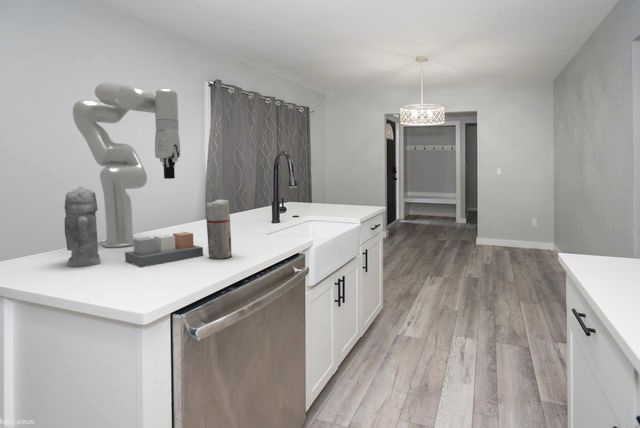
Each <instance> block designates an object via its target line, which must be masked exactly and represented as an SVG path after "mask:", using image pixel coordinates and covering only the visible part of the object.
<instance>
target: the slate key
mask: <svg viewBox="0 0 640 428" xmlns="http://www.w3.org/2000/svg"><path fill="white" fill-rule="evenodd" d="M133 241H134V245H133V251H134V254H136V255H140V256H142V255H148V254H154V253H156V243H155V239H154V237H150V236H147V237H146V236H145V237H138V238H137V237H136V238H133Z"/></svg>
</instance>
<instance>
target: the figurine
mask: <svg viewBox="0 0 640 428" xmlns="http://www.w3.org/2000/svg"><path fill="white" fill-rule="evenodd" d="M97 203H98V202H97V197H96V192H95V191H93V190H91V189H89V188H88V189H87V188H84V186H79V187H78V188H75V189H72V190H70V191H68V192H67V193H66V194H65V200H64V207H63V208H64V212H65V217H64V236H65V239H66V241H65V242H66V249H67V251H69V252H71V254H70V255H71V256H70V257H69V258H68V261H67V266H68V267H85V266H94V265H99V264H101V257H100V253H98V252H99V247H98V243H99V242H98V229H97V226H98V225H97V224H98V223H97V216H96V214H97V213H96V212H97V211H98V204H97Z"/></svg>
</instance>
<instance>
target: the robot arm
mask: <svg viewBox="0 0 640 428" xmlns="http://www.w3.org/2000/svg"><path fill="white" fill-rule="evenodd" d="M94 96H95V98H96V99H97V100H96V99H80V100H78V101H77V102H74V105H73V107H72V117H73V121H74V124H75V126H76V128H77V130H78V131H79V132H80V134H81V135H82V137H83V138H84V140H85V142H86V143H87V146H88V148H89V150H90V152H91V154H92V156H93V158H94V160H95V162H96V163H97V164H98V166H101V167H104V168H102V169H101V171H100V173H99V180H100V184H101V188H102V192H103V198H104V199H103V200H104V201H103V202H104V215H105V230H106V241H104V242H103V243H102V246H103V247H104V248H124V247H132V246H134V241H133V239H134V232H133V231H134V230H133V229H134V228H133V211H132V200H131V197H130V195H129V194H128V193H127V191H126V190H134V189H141V188H143V187H144V186H145V185H146V184H147V182H148V181H147V180H148V176H147V173H146V172H147V171H146V169H145V168H144V165H143V163H142V161H141V159H140V157H139V155H138V153H137V151H136V150H135V149H134V147H133V146H132V145H130V144H128V143H117V142H114V141H113V140H111V139H112V138H111V137H110V135H109V133H108V132H107V130H105V128H104V127H102V125H100V124H99V123H103V124H117V123H118V122H120V121H122V119H123V118H124V117H125V116H126V114H127V113H128V112H129V111H133V112H142V113H143V112H144V113H151V114H155V115H154V116H155V133H154V134H155V136H154V156H155V158H156V159H159V162H161V164H162V168H163V178H164V179H166V180H169V179H175V175H176V174H175V167H176V163H177V162H178V161H179V158H180V156H181V142H180V140H181V139H180V134H179V131H180V130H179V128H180V127H179V105H178V102H179V101H178V94H177V91H175V90H173V89H168V88H159V89H156V90H155V91H153V90H147V89H142V88H135V87H132V86H131V85H127V84H121V83H120V84H119V83H114V82H105V81H104V82H101V83H99V84H97V86H96V87H95V89H94Z"/></svg>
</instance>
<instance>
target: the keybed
mask: <svg viewBox="0 0 640 428" xmlns="http://www.w3.org/2000/svg"><path fill="white" fill-rule="evenodd" d="M203 256H204V247H203V246H199V245H196V244H195V245H194V247H190V248H184V249H178V248H175V250H172V251H166V252H158V251H156V253H154V254H148V255H142V256H140V255H136V254H134V250H132V251H131V250H130V251H125V252H124V261H125V262H127V263H131V264H132V265H135V266H138V267H141V268H144V267H150V266H154V265H155V266H156V265H160V264H161V265H162V264H165V263H166V264H167V263H171V262H176V261H181V260H187V259H193V258H197V257H198V258H199V257H203Z"/></svg>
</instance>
